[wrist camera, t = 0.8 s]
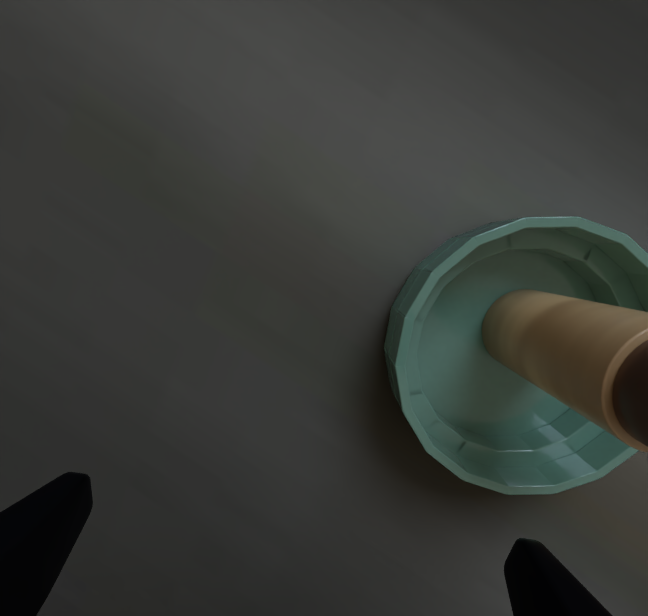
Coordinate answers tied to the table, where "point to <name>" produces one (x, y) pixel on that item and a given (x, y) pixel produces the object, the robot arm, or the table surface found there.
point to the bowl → (488, 374)
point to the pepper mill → (577, 356)
